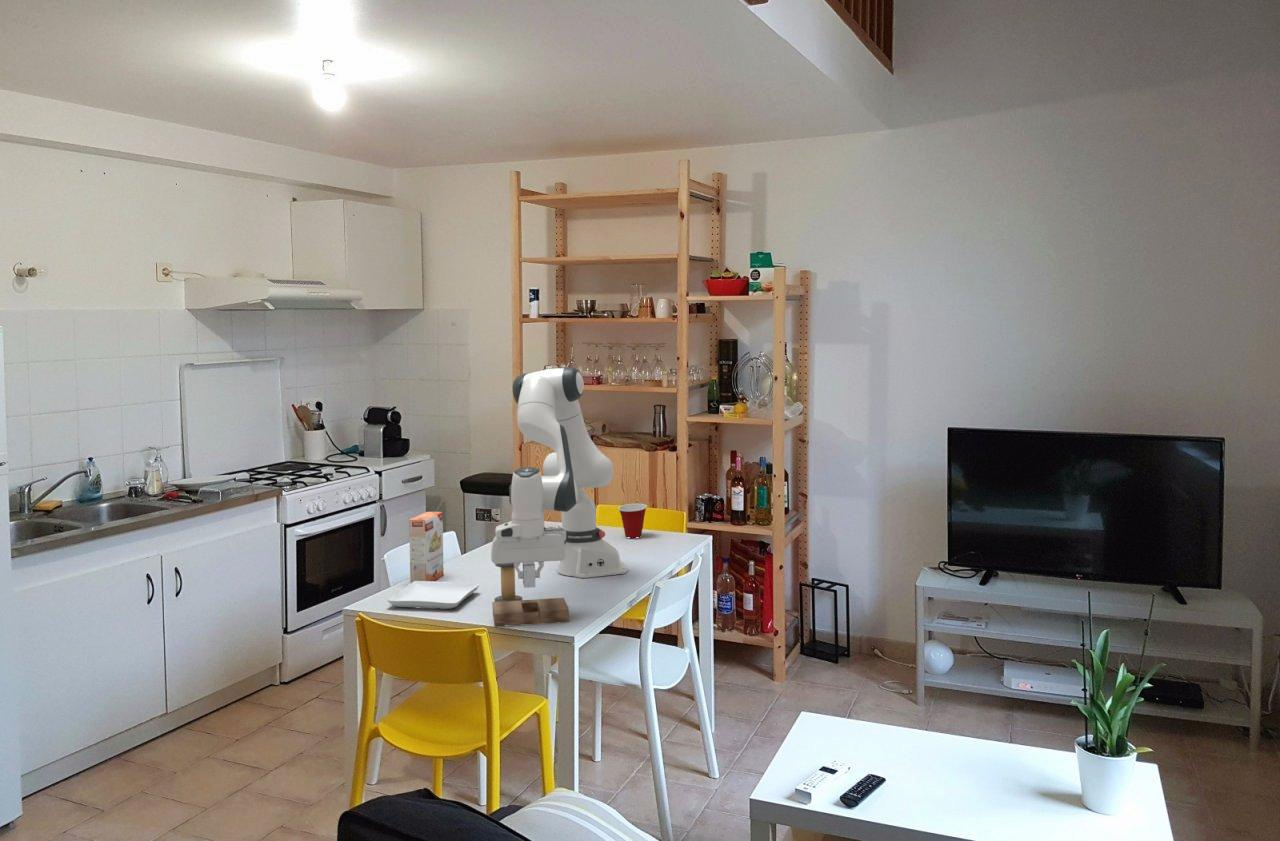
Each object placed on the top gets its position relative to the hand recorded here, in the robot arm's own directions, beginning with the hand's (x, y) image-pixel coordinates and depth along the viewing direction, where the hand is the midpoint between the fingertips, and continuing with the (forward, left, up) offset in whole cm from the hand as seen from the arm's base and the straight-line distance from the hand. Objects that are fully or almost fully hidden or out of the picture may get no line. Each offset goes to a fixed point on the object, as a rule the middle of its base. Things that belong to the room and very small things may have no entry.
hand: (529, 577), depth 282 cm
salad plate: (+26, -25, -12) cm, 38 cm away
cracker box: (+28, -50, -12) cm, 59 cm away
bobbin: (+5, -17, -12) cm, 21 cm away
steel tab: (0, 0, -2) cm, 2 cm away
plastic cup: (-46, -97, -12) cm, 108 cm away
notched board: (0, -1, -12) cm, 12 cm away
